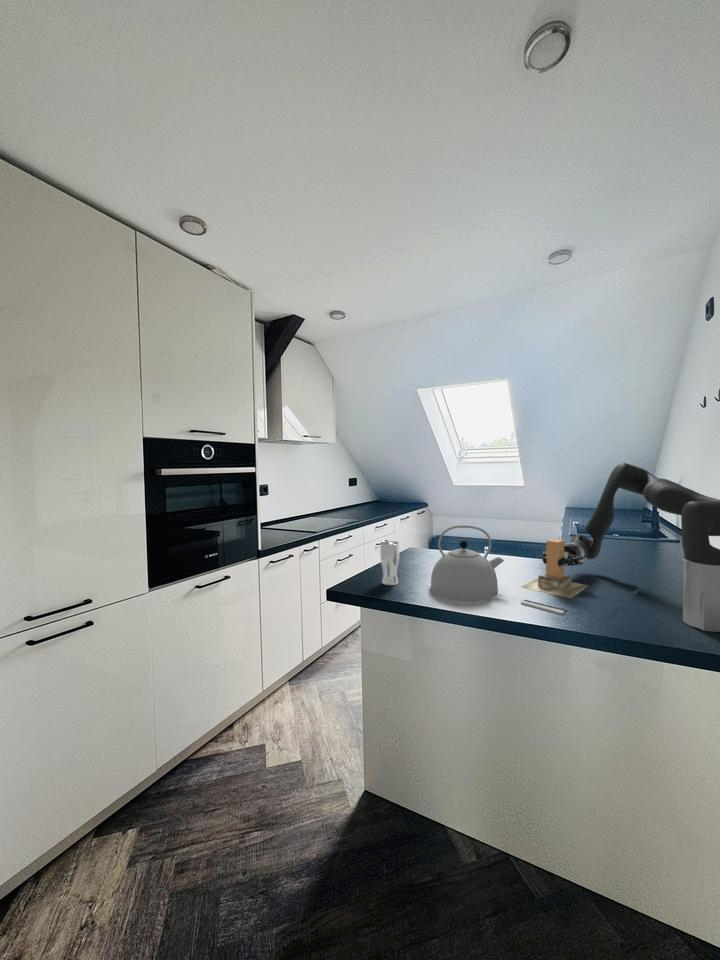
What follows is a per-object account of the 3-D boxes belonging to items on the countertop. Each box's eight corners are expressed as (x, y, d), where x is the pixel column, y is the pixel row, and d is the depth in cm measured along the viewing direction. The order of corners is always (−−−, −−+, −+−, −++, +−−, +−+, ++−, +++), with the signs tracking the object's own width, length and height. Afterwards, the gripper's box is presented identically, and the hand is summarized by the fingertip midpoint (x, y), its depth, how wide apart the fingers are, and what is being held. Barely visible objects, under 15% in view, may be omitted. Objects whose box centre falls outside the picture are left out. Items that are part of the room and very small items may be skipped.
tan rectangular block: (563, 585, 133) (564, 540, 132) (558, 589, 130) (558, 542, 129) (551, 583, 136) (552, 538, 135) (546, 586, 133) (546, 540, 132)
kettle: (496, 580, 144) (496, 520, 143) (513, 602, 121) (513, 531, 120) (428, 578, 147) (428, 520, 146) (432, 599, 124) (432, 530, 123)
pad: (576, 603, 119) (576, 602, 119) (562, 614, 111) (562, 612, 111) (537, 594, 128) (537, 592, 127) (520, 603, 119) (520, 601, 119)
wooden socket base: (589, 588, 133) (589, 574, 133) (570, 601, 121) (570, 586, 121) (541, 578, 145) (541, 566, 145) (520, 589, 133) (520, 576, 132)
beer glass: (380, 580, 145) (380, 540, 145) (398, 580, 145) (398, 540, 145) (380, 585, 139) (380, 544, 138) (400, 585, 138) (399, 544, 138)
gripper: (550, 540, 147) (531, 547, 136) (591, 546, 137) (574, 554, 125) (549, 560, 148) (530, 568, 136) (591, 567, 137) (574, 577, 125)
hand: (552, 562), depth 131 cm, fingers closed on tan rectangular block, 4 cm apart
